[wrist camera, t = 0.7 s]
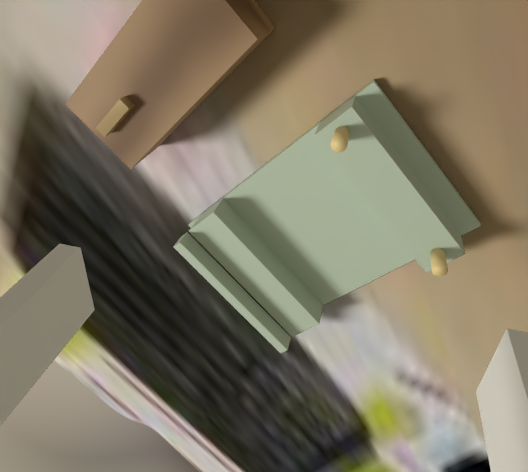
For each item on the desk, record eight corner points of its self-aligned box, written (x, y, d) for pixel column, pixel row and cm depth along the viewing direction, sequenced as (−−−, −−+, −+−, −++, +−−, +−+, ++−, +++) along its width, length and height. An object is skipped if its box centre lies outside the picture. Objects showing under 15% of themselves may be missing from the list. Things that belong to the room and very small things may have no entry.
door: (104, 86, 35) (58, 107, 30) (213, -52, 28) (175, -53, 23) (160, 144, 36) (125, 173, 31) (276, 26, 29) (253, 41, 25)
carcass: (190, 221, 39) (166, 253, 35) (374, 79, 29) (370, 100, 25) (286, 320, 42) (275, 359, 38) (479, 221, 33) (491, 260, 29)
